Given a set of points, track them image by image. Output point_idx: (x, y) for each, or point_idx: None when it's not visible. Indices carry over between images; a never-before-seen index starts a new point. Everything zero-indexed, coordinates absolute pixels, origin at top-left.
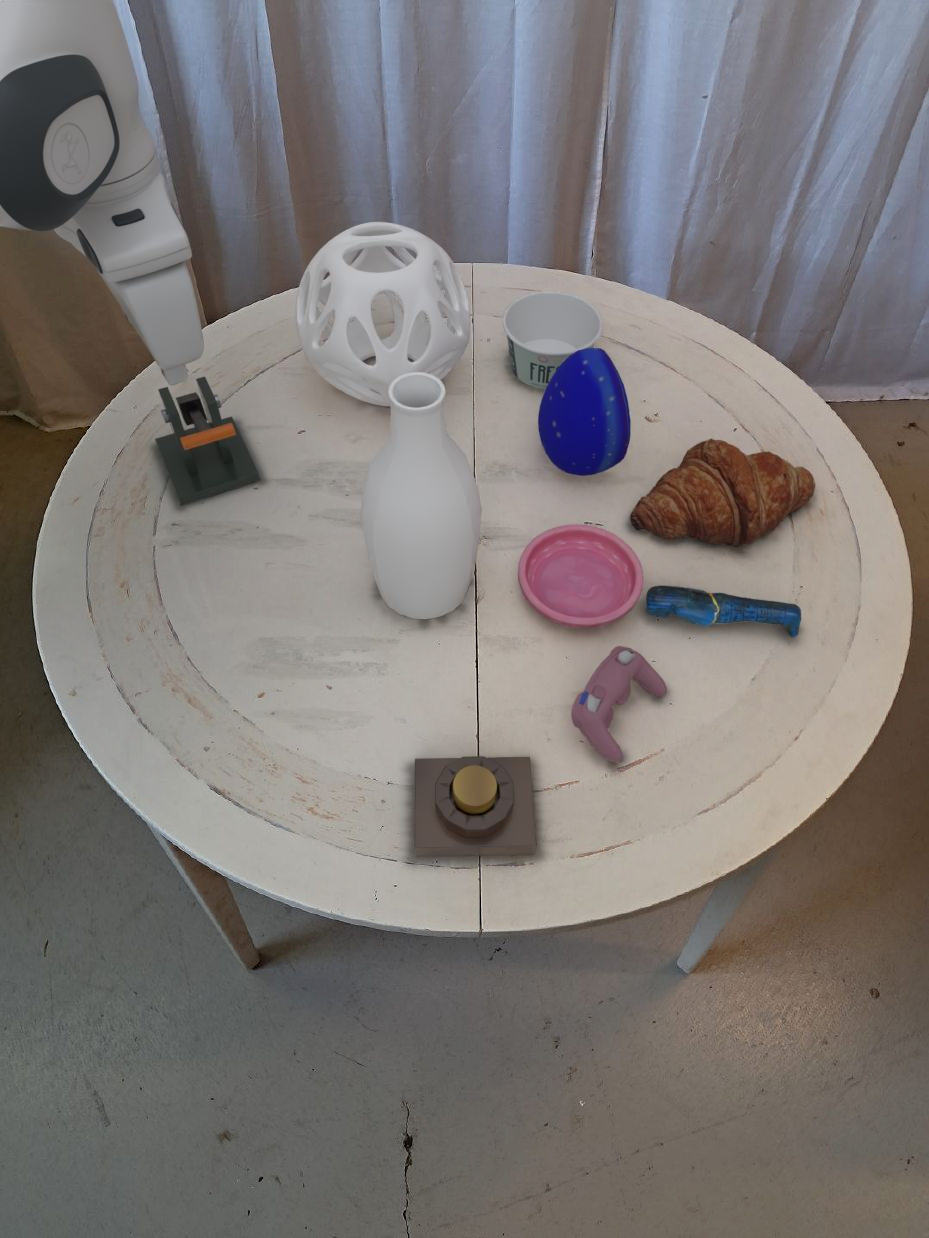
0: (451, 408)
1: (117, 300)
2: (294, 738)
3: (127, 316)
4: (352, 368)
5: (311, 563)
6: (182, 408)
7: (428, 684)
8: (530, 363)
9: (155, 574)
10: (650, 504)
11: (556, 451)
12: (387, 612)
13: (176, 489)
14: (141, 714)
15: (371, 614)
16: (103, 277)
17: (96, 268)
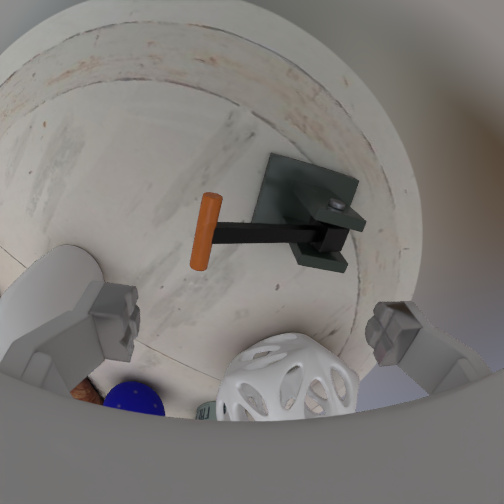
0: (222, 370)
1: (303, 462)
2: (12, 134)
3: (140, 453)
4: (249, 373)
5: (130, 217)
6: (323, 227)
7: (14, 230)
8: (208, 417)
9: (203, 89)
10: (77, 391)
11: (120, 394)
12: (65, 240)
13: (284, 159)
14: (81, 36)
15: (67, 230)
16: (458, 431)
17: (500, 391)
